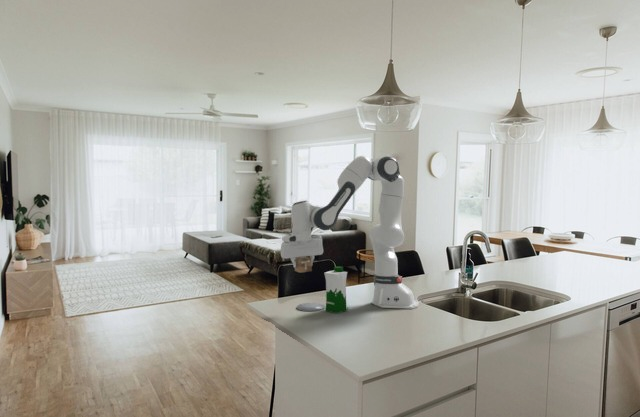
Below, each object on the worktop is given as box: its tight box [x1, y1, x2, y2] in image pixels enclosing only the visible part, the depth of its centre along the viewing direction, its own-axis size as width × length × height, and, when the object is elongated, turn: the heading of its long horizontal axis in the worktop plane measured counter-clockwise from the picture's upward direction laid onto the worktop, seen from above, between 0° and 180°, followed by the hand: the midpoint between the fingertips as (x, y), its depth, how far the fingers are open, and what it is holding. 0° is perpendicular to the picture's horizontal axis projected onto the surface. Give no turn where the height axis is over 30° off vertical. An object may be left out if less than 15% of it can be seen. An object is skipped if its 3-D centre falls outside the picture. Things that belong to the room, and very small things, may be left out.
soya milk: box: [323, 265, 348, 314], centre depth 193 cm, size 9×9×20 cm
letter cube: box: [294, 256, 313, 273], centre depth 192 cm, size 6×6×6 cm
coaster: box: [296, 302, 326, 312], centre depth 199 cm, size 13×13×1 cm
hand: (303, 266), depth 192 cm, fingers closed on letter cube, 6 cm apart
